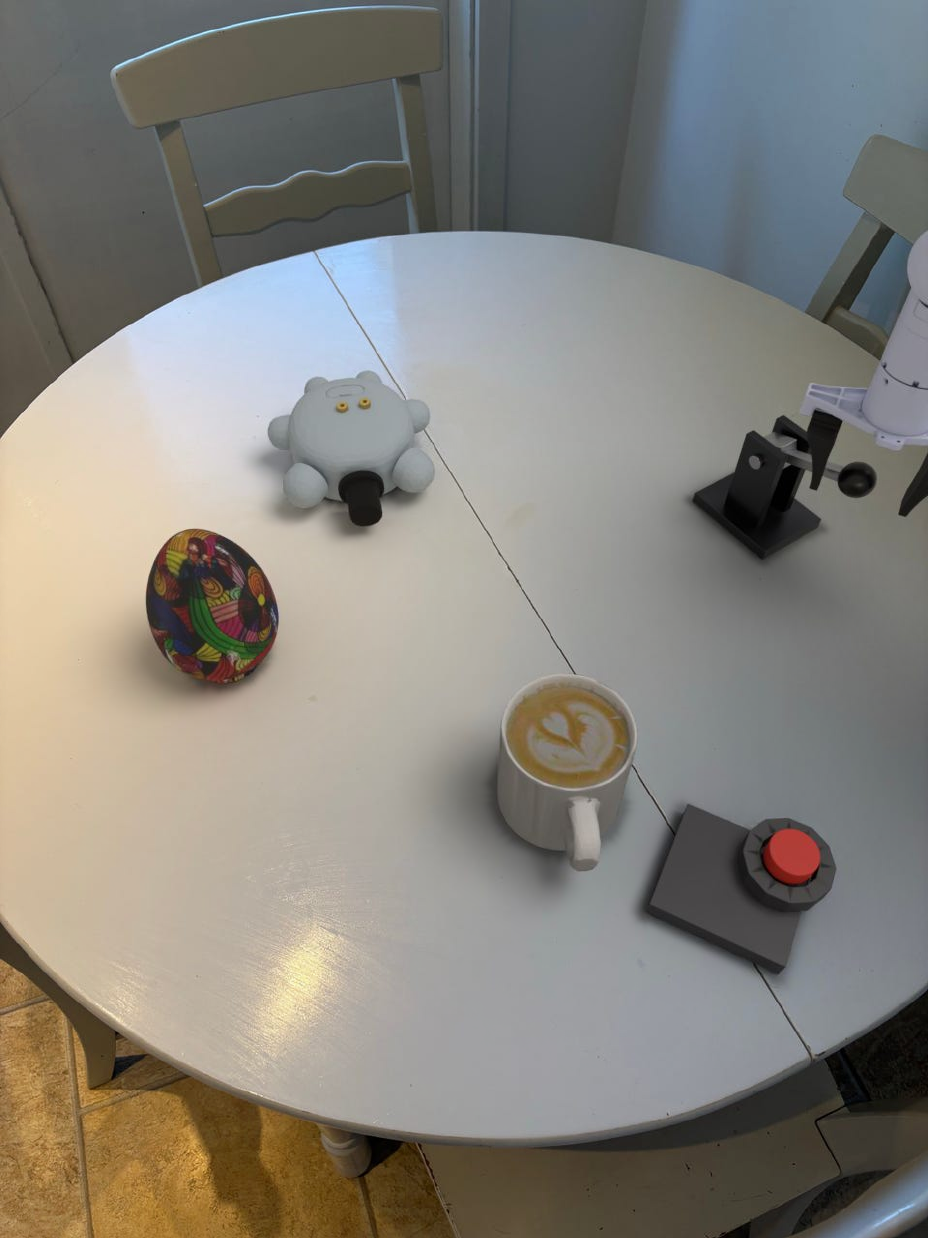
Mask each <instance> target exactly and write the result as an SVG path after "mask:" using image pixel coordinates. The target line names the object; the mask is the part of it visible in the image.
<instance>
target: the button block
mask: <svg viewBox="0 0 928 1238" xmlns="http://www.w3.org/2000/svg"><path fill="white" fill-rule="evenodd" d="M783 829H795V830H799V831H801V832H803V833H805V834H807V835H808V836H809V837H810V838H812V840H813V841H814V842H815V843H816V845H817V847H818V849H819V852H820V863H819V866H818V867H817V869H816V870H815V871H814V873H813V874H812V875H811V877H810V878H809V879H808V880H807V881H805V882H803V883H801V884H796V885H792V884H786V883H783V882H781V881H779V880H777V879H776V878H775V877H773V876H772V875H771V874H770V872H769V871H768V870H767V868H766V866H765V863H764V859H763V853H764V850H765V847H766V846H767V844H768V842H769V841H770V839H771V838H772V836H773V835H774V834H775V833H776V832H778V831H780V830H783ZM836 872H837V865H836V863H835V859H834V857H833V854H832V851H831V848H830V846H829V844H828V843H827V842H826V841H825V840H824V839H823V838H822V836H820V835H819V834H818V833H817V831H815V829H814V828H813V827H811V826H810V825H809V826H808V825H807V824H804V823H801V822H799V821H797V820H794V819H792V818H789V817H781V818H780V817H779V818H766V819H764V820H762V821H761V822H759V823H758V824H757V825H755V826H754V827H753V828H751V829H749V828H747V827H744V826H743V825H740V824H737V823H735V822H732V821H731V820H728V819H725V818H724V817H721V816H718V815H716V814H714V813H711V812H709V811H707V810H704V809H701V808H699V807H698V806H695V805H692V804H690V803H687V804H686V807H685V809H684V811H683V814H682V816H681V819H680V822H679V824H678V827H677V830H676V831H675V835H674V837H673V840H672V843H671V844H670V848H669V851H668V853H667V855H666V857H665V861H664V864H663V865H662V869H661V871H660V874H659V877H658V879H657V882H656V884H655V887H654V890H653V892H652V895H651V898H650V901H649V903H648V905H647V908H646V911H645V912H646V913H647V914H649V915H651V916H654V917H656V918H657V919H660V920H662V921H664V922H666V923H668V924H671V925H672V926H675V927H677V928H680V929H681V930H683V931H685V932H687V933H689V934H692V935H694V936H696V937H698V938H700V939H702V940H705V941H707V942H709V943H711V944H713V945H714V946H717V947H718V948H719V947H720V948H722V949H724V950H726V951H728V952H730V953H733V954H734V955H737V956H739V957H741V958H743V959H745V960H747V961H750V962H752V963H753V964H756V965H758V966H759V967H760V966H761V967H763V968H765V969H766V970H768V971H771V972H773V973H775V974H777V975H780V974H781V973H782V972H783V970H784V969H785V968H786V967H787V964H788V959H789V957H790V952H791V948H792V945H793V942H794V938H795V935H796V932H797V927H798V924H799V919H800V915H801V912H807V911H809V910H811V908H813V907H814V906H816V905H817V904H818V903H819V902H821V901H822V900H823V899H825V897H826V896H827V895H828V894H829V893H830V892H831V890H832V888H833V884H834V881H835V877H836Z"/></svg>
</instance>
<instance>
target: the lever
mask: <svg viewBox="0 0 928 1238" xmlns="http://www.w3.org/2000/svg"><path fill="white" fill-rule="evenodd" d="M763 437H764V438H765V439H766V440H768V441H769V442H770V443H772V444H773V445H774V446H776V447H777V448H778V449H780V450H781V451H782V452H784V453H785V454H786V455H788V456H787V459H786V462H785V465H784V467H783V469H784V468H786V467H787V466H789V465H794V466H797V467H800V468H802V469H805V471H807V472H810V473H812V457H811V455H810V454H807V453H804V452H801V451H798V450H796V448H797V440H796V439H794V438H791V437H788V436H785V435H782V434H779V433H776V432H773V433H772V432H771V433H768V434H766V435H764V436H763ZM822 477H824V478H827V479H830V480H832V481H835V482H836V483H837V487H838V489H839V491H840V492H841V494H843V495H844V496H846V497H847V498H851V499H861V498H865V497H866V496H868V495H870V494H871V493H872V492H873V491H874V489H875V488H876V486H877V482H878V476H877V472H876V469H874V468H873V466H871V464H869V463H867V462H865V461H852V462H849V463H848V464H846V465H844V466H843V465H841V464H838V463H835V462H832V461H829V460H828V461H827V464H826V467H825V470H824V473H823V476H822Z"/></svg>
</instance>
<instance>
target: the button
mask: <svg viewBox="0 0 928 1238" xmlns="http://www.w3.org/2000/svg"><path fill="white" fill-rule="evenodd" d="M763 859H764V863H765V866H766V868H767V870H768V871H769V872H770V874H771V875H772V876H773V877H775V878H776V879H777V880H779V881H781V882H783V883H786V884H792V885H796V884H801V883H803V882H805V881H807V880H808V879H809V878H810V879H811V876H812V874H813V873H814V871H815V870H816V869H817V867H818V866H819V863H820V852H819V849H818V847H817V845H816V843H815V842H814V841H813V840H812V838H810V837H809V836H808V835H807V834H805V833H803V832H801V831H799V830H795V829H783V830H780V831H778V832H776V833H775V834H774V835H773V836H772V838H771V839H770V841H769V842H768V844H767V846H766V847H765V850H764V853H763Z"/></svg>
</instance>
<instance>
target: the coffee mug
mask: <svg viewBox="0 0 928 1238" xmlns="http://www.w3.org/2000/svg"><path fill="white" fill-rule="evenodd" d="M499 730H500V732H499V746H498V747H499V748H498V762H497V763H498V765H497V785H496V799H497V802H498V807H499V810H500V813H501V815H502V817H503V818H504V819H505V822H506V824H507V825H508V826H509V827H510V829H512V830H513V832H515V834H517V836H519V837H520V838H521V839H523V840H525V841H526V842H528V843H530V844H531V845H534V846H536V847H539V848H541V849H546V850H550V851H559V852H561V851H565V852H566V856H567V860H568V863H569V865H570V867H571V868H572V869H573V871H576V872H589V871H592V870H594V869H596V867H597V866H598V864H599V863H600V855H601V848H602V847H601V846H602V843H601V838H602V837H603V836H605V835H606V834H607V832H608V831H609V830H610V829H611V827H612V826H613V824H614V823H615V821H616V818H617V816H618V813H619V809H620V806H621V802H622V800H623V796H624V792H625V790H626V786H627V783H628V779H629V776H630V773H631V769H632V767H633V762H634V760H635V755H636V752H637V749H638V739H639V737H638V735H639V734H638V727H637V722H636V720H635V717H634V714H633V712H632V710H631V708H630V707H629V705H628V703H626V701H625V700H624V699H623V697H621V696H620V695H619V694H618V693H617V692H616V691H615V690H614V689H613V688H611V687H610V686H608V685H607V684H605V683H603V682H601V681H599V680H597V679H595V678H592V677H589V676H585V675H581V674H578V673H577V674H576V673H554V674H548V675H544V676H540V677H538V678H535V679H533V680H531V681H530V682H527V683H526V684H524V685H523V686H522V687H521V688H519V689H518V690H517V691H516V692H514V694H513V695H512V696H511V698H510V699H509V700H508V702H507V704H506V706H505V708H504V710H503V713H502V716H501V721H500V729H499Z"/></svg>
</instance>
